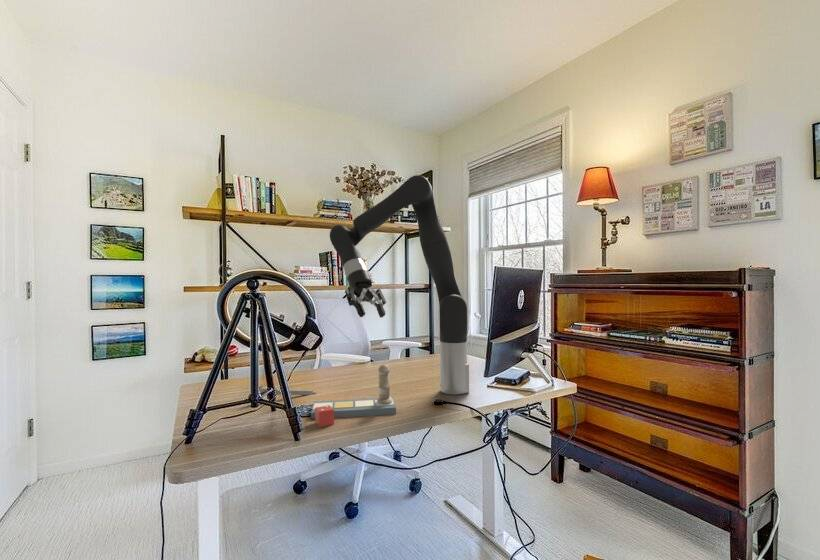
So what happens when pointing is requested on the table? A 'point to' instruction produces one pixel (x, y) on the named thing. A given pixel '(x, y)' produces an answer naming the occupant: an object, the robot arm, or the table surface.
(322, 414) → the die
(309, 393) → the caliper
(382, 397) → the pawn
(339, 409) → the board
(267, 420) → the table surface
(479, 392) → the table surface
